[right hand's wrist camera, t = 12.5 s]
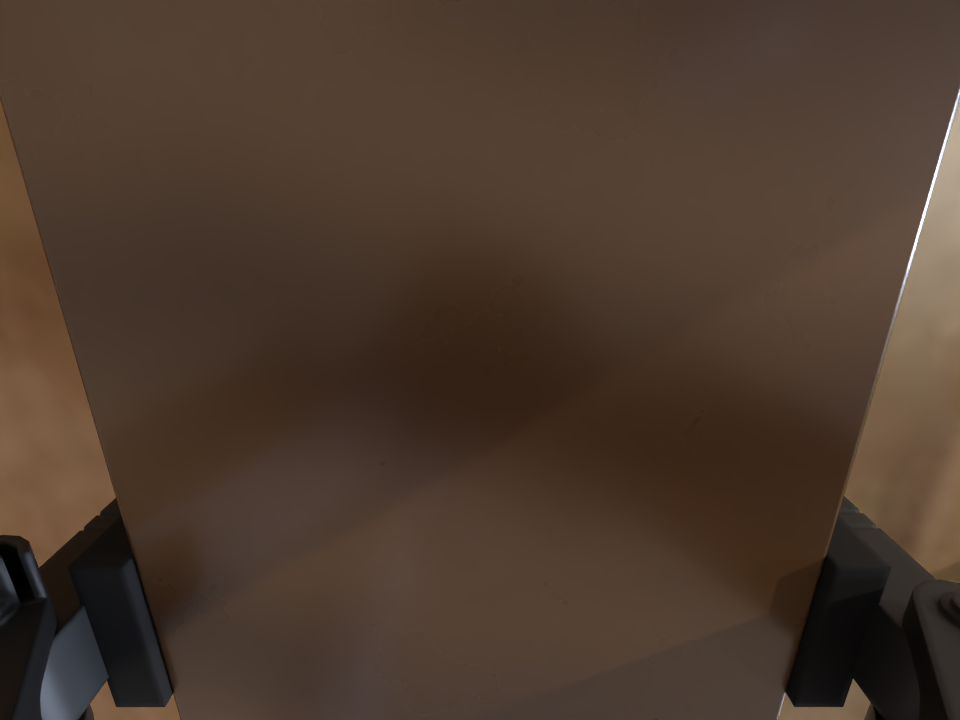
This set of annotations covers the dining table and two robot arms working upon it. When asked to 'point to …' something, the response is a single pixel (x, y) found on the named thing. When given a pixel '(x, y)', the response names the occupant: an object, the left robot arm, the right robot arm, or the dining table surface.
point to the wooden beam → (479, 330)
